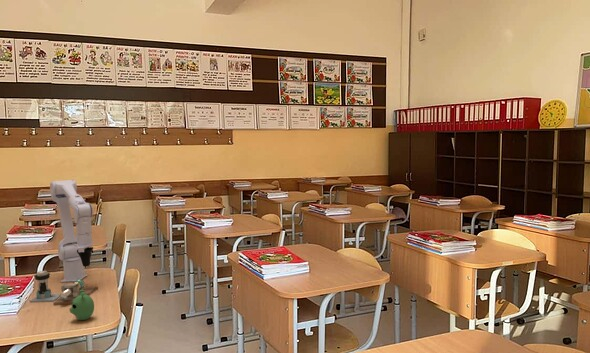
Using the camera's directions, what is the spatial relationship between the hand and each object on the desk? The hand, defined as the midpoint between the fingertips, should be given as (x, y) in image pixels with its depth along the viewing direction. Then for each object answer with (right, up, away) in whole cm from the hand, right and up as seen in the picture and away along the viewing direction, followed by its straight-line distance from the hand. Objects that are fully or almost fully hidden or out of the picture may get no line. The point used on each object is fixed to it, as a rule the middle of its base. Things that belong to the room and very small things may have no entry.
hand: (86, 265), depth 199 cm
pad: (-11, -11, -11) cm, 19 cm away
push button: (-11, -10, -11) cm, 19 cm away
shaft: (0, -9, -14) cm, 16 cm away
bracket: (0, -10, -10) cm, 14 cm away
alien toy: (+14, -12, -35) cm, 39 cm away
